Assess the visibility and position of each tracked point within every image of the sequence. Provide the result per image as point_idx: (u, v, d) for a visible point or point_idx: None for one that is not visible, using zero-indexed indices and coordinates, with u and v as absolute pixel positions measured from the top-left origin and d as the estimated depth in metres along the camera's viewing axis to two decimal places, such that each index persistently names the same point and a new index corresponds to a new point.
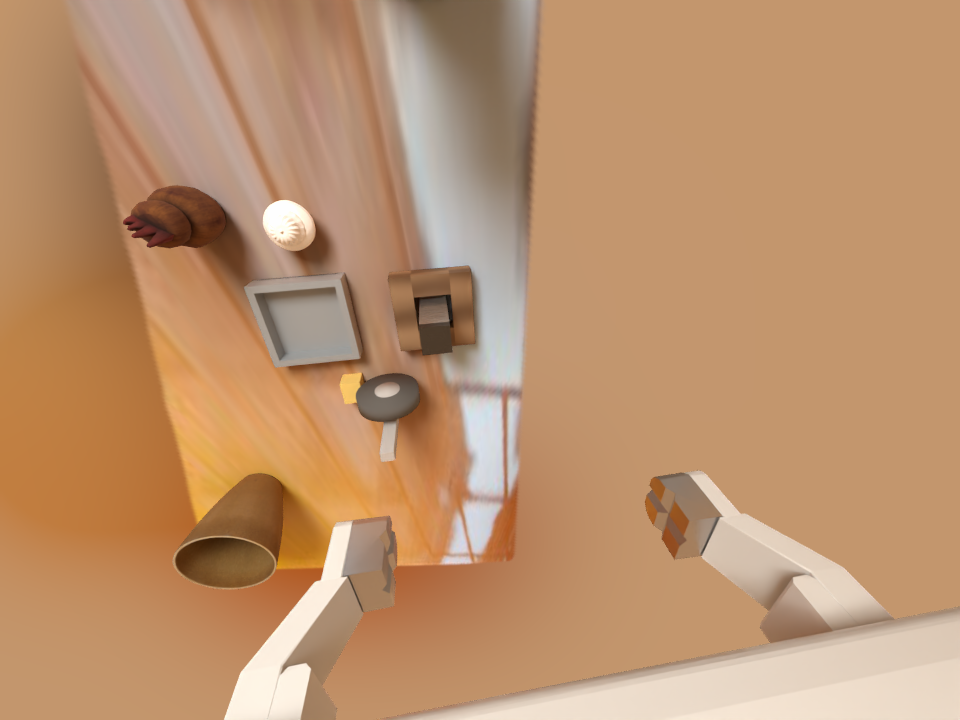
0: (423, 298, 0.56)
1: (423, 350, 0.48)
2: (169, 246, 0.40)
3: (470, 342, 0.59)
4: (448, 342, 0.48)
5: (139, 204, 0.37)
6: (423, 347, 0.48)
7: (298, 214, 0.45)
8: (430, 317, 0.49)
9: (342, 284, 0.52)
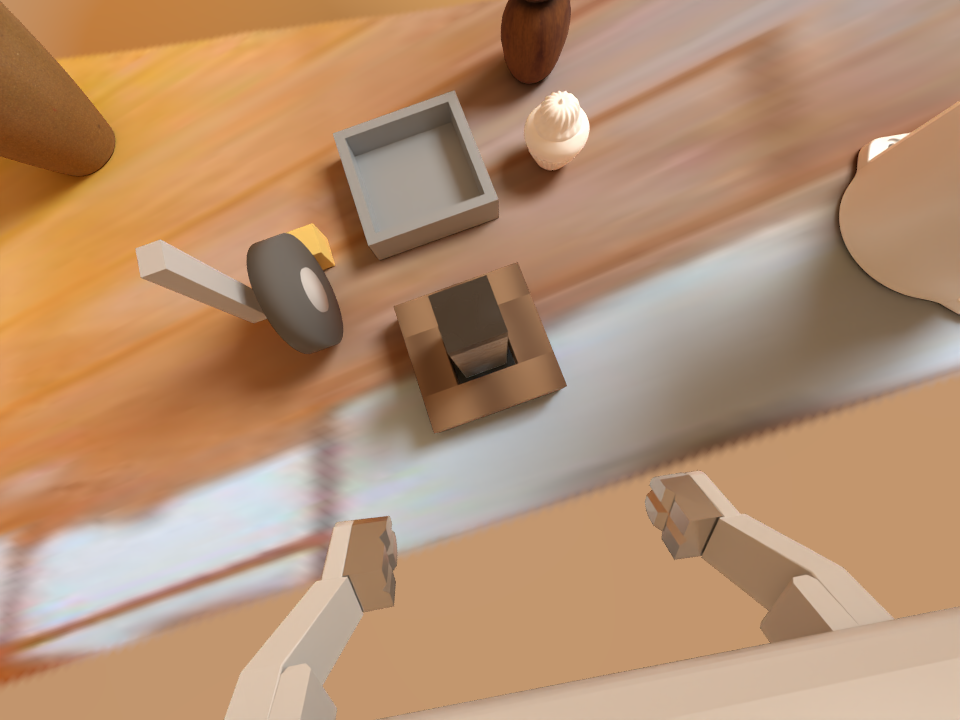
0: None
1: (439, 294, 0.23)
2: None
3: (435, 423, 0.31)
4: (468, 339, 0.23)
5: None
6: (446, 293, 0.23)
7: (580, 132, 0.33)
8: None
9: (489, 205, 0.35)
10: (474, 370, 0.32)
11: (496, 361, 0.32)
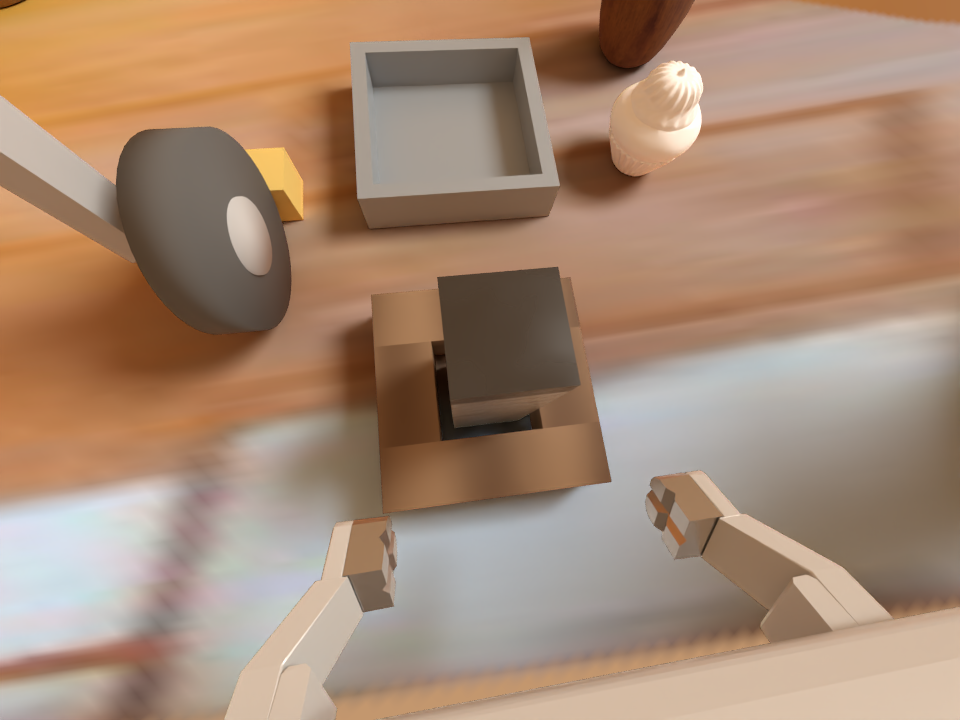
0: None
1: (460, 280, 0.12)
2: None
3: (388, 497, 0.18)
4: (499, 381, 0.11)
5: None
6: (473, 281, 0.12)
7: (691, 126, 0.24)
8: None
9: (544, 191, 0.24)
10: (471, 422, 0.20)
11: (510, 417, 0.20)
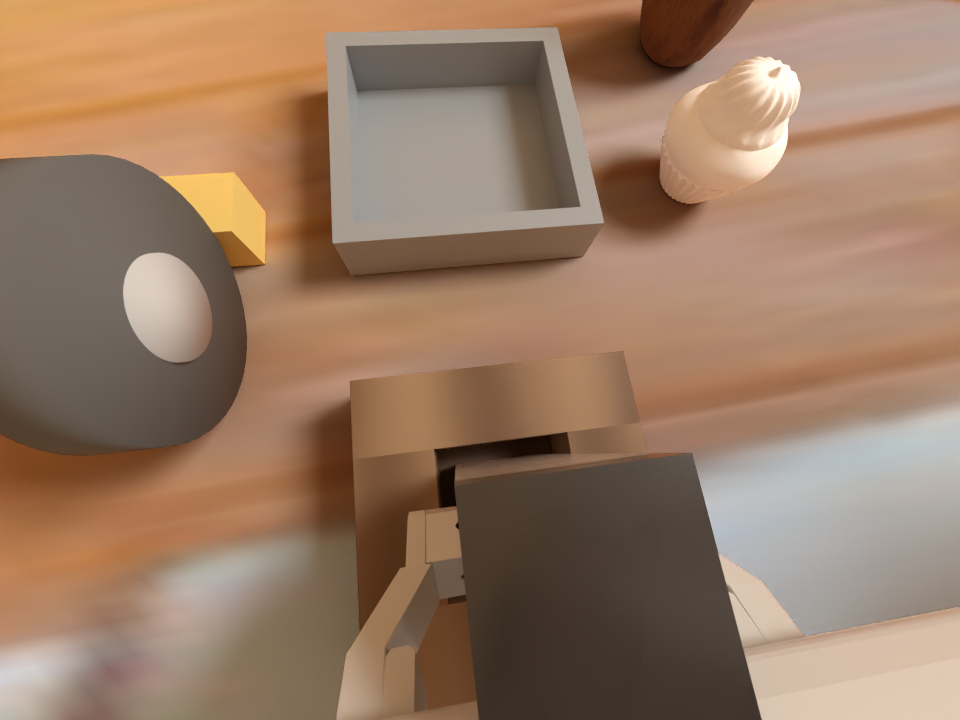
0: None
1: (500, 492, 0.06)
2: None
3: None
4: None
5: None
6: (528, 492, 0.06)
7: (777, 144, 0.18)
8: None
9: (583, 229, 0.18)
10: None
11: None
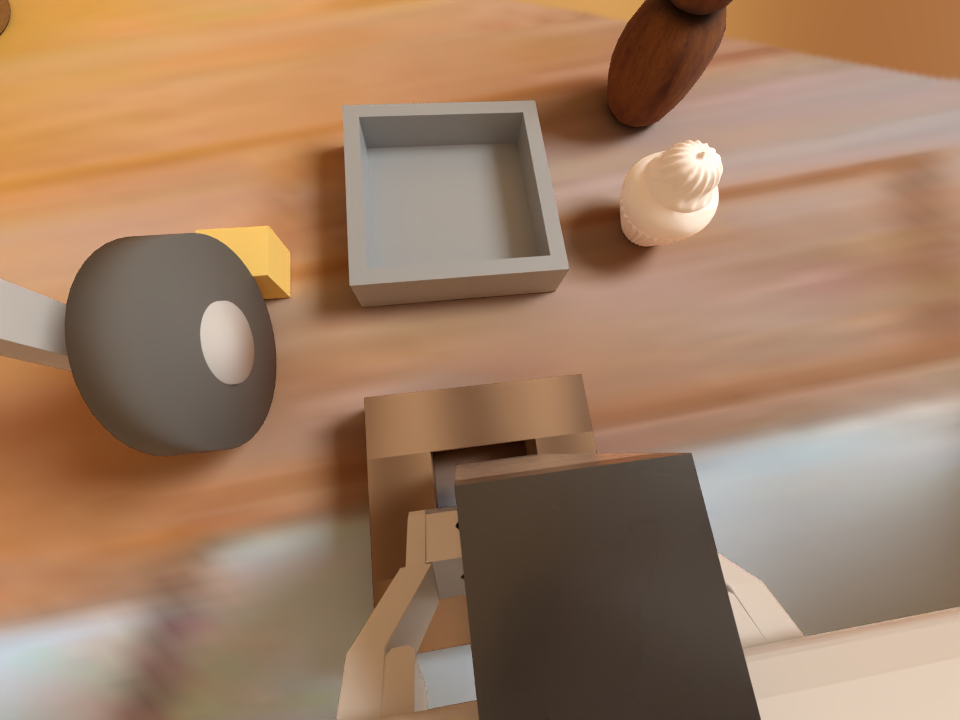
0: None
1: (500, 492, 0.06)
2: None
3: None
4: None
5: None
6: (528, 491, 0.06)
7: (708, 207, 0.22)
8: None
9: (552, 273, 0.22)
10: None
11: None
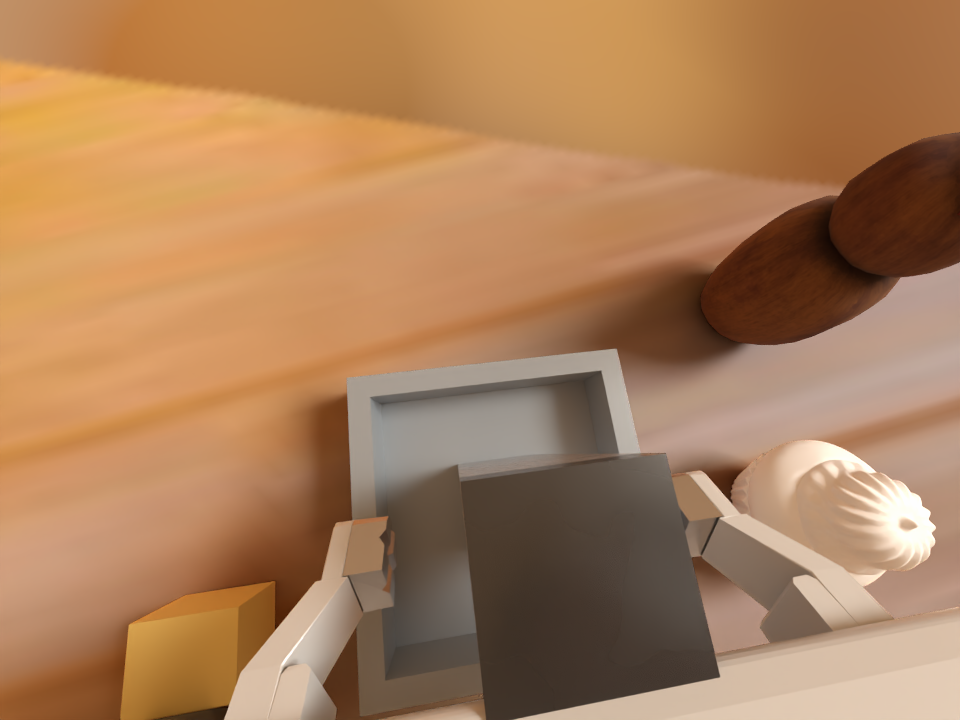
0: None
1: (500, 487, 0.07)
2: (912, 202, 0.12)
3: None
4: (579, 700, 0.06)
5: None
6: (524, 486, 0.07)
7: None
8: None
9: None
10: None
11: None
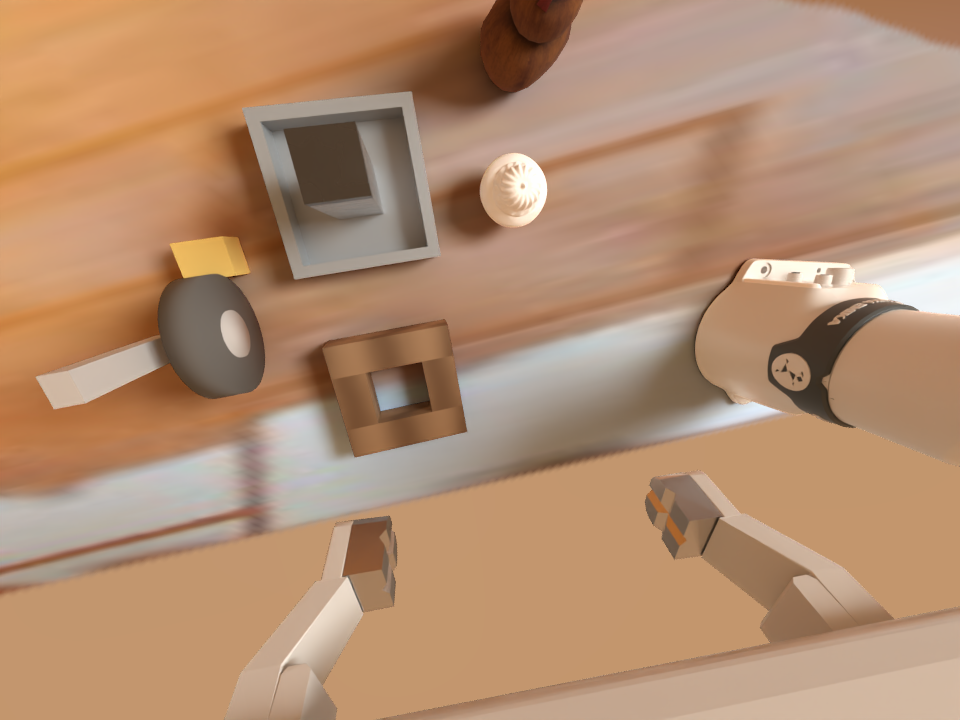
0: (373, 169, 0.31)
1: (297, 131, 0.21)
2: None
3: (356, 450, 0.38)
4: (328, 194, 0.22)
5: None
6: (305, 131, 0.21)
7: (534, 209, 0.33)
8: (366, 162, 0.25)
9: (430, 257, 0.34)
10: (346, 215, 0.31)
11: (370, 211, 0.31)
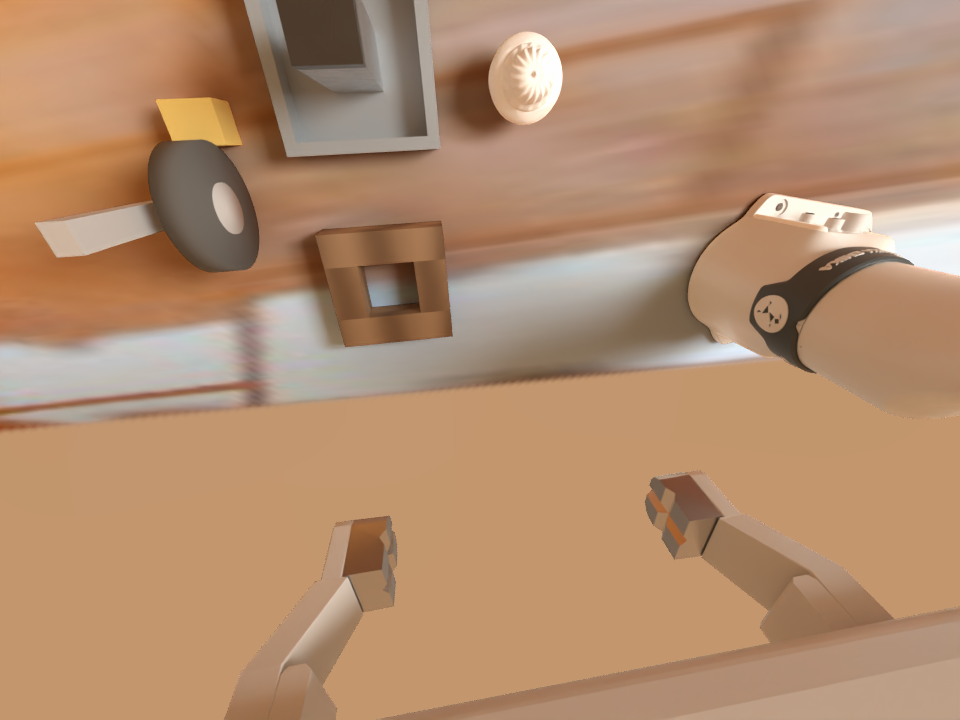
0: (373, 34, 0.28)
1: None
2: None
3: (346, 341, 0.40)
4: (317, 56, 0.21)
5: None
6: None
7: (545, 105, 0.30)
8: (362, 23, 0.22)
9: None
10: (342, 88, 0.29)
11: (368, 86, 0.29)
